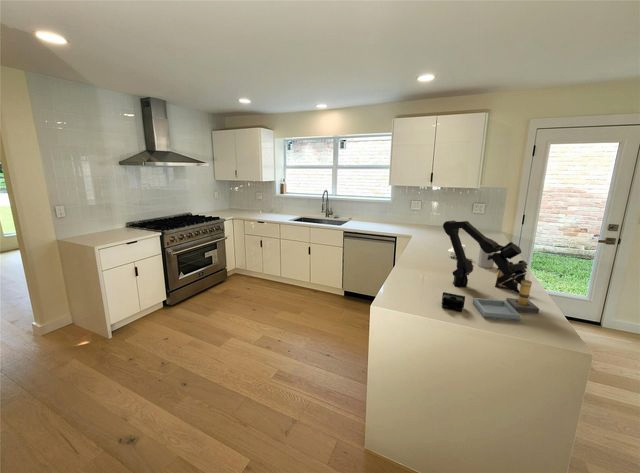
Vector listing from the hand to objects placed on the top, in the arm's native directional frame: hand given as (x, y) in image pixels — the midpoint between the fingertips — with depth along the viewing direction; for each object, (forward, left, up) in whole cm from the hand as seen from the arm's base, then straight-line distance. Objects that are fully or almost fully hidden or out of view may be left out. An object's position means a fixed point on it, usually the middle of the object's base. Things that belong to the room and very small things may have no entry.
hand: (523, 291), depth 140 cm
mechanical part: (-8, +82, -9) cm, 82 cm away
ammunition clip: (+3, +24, -9) cm, 25 cm away
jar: (+6, +63, -9) cm, 64 cm away
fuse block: (0, 0, -9) cm, 9 cm away
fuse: (0, 0, -9) cm, 9 cm away
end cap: (-34, -6, -9) cm, 35 cm away
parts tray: (-15, -7, -9) cm, 19 cm away
